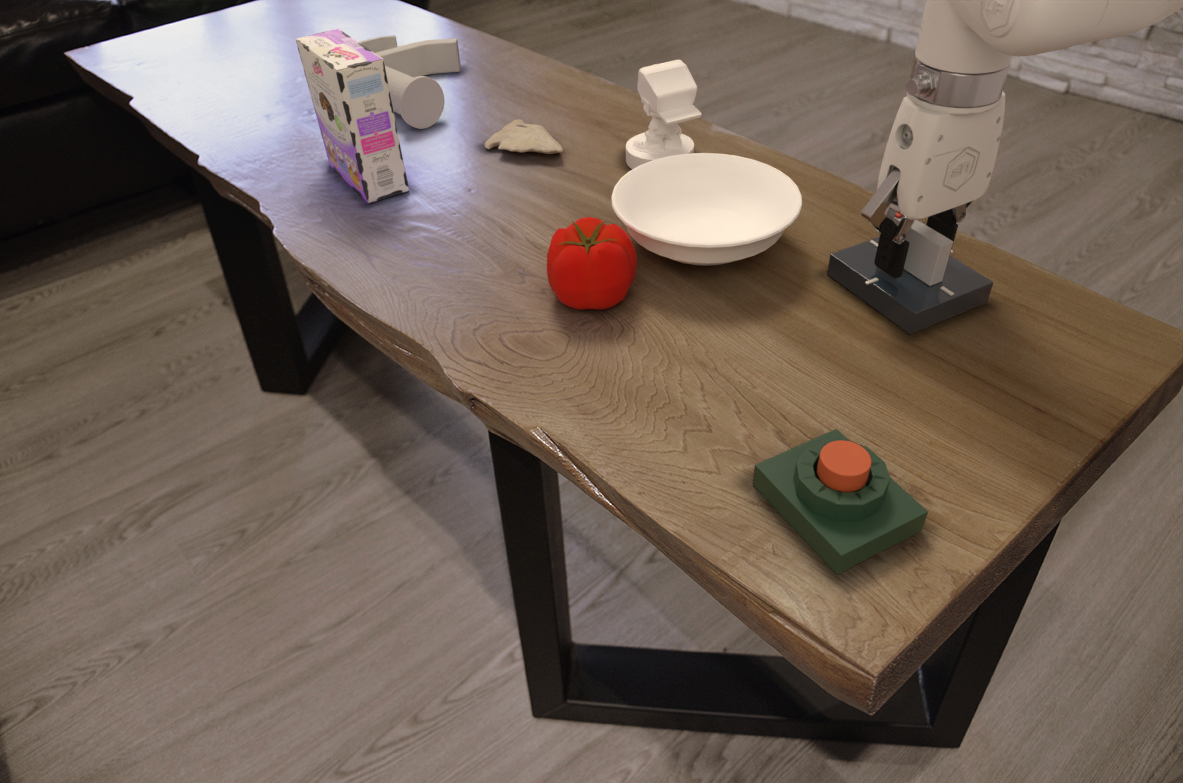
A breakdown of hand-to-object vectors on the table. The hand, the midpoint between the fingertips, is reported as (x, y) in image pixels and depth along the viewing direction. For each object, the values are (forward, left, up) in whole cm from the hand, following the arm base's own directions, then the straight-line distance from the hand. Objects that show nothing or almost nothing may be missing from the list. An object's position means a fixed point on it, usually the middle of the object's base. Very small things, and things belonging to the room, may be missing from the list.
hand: (911, 260), depth 83 cm
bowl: (+17, +13, -3) cm, 22 cm away
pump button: (-19, +25, 0) cm, 31 cm away
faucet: (+77, +25, -3) cm, 81 cm away
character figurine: (+37, +6, -3) cm, 38 cm away
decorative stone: (+49, +19, -3) cm, 53 cm away
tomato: (+15, +28, -3) cm, 32 cm away
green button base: (-19, +25, -3) cm, 32 cm away
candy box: (+53, +40, -3) cm, 66 cm away
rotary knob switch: (0, 0, -3) cm, 3 cm away
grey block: (0, 0, -1) cm, 1 cm away
